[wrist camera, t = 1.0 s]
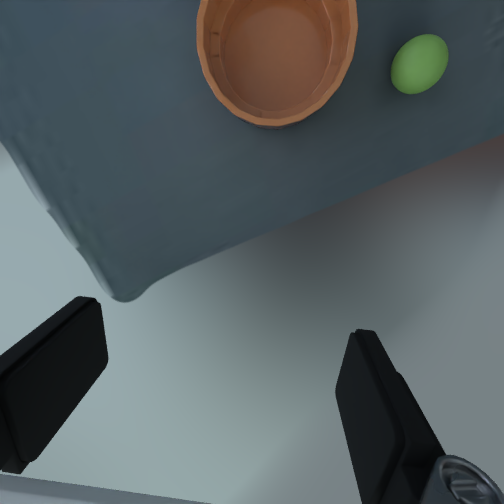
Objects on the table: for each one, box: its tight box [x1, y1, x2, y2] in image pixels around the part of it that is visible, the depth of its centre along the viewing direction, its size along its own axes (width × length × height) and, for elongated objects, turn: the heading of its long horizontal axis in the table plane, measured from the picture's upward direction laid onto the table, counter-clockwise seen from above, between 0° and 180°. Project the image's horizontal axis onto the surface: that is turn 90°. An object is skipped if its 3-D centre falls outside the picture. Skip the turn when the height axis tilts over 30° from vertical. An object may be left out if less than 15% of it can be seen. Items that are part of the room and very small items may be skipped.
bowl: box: [197, 0, 358, 130], centre depth 25 cm, size 13×13×6 cm
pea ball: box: [391, 34, 449, 94], centre depth 25 cm, size 5×5×5 cm
